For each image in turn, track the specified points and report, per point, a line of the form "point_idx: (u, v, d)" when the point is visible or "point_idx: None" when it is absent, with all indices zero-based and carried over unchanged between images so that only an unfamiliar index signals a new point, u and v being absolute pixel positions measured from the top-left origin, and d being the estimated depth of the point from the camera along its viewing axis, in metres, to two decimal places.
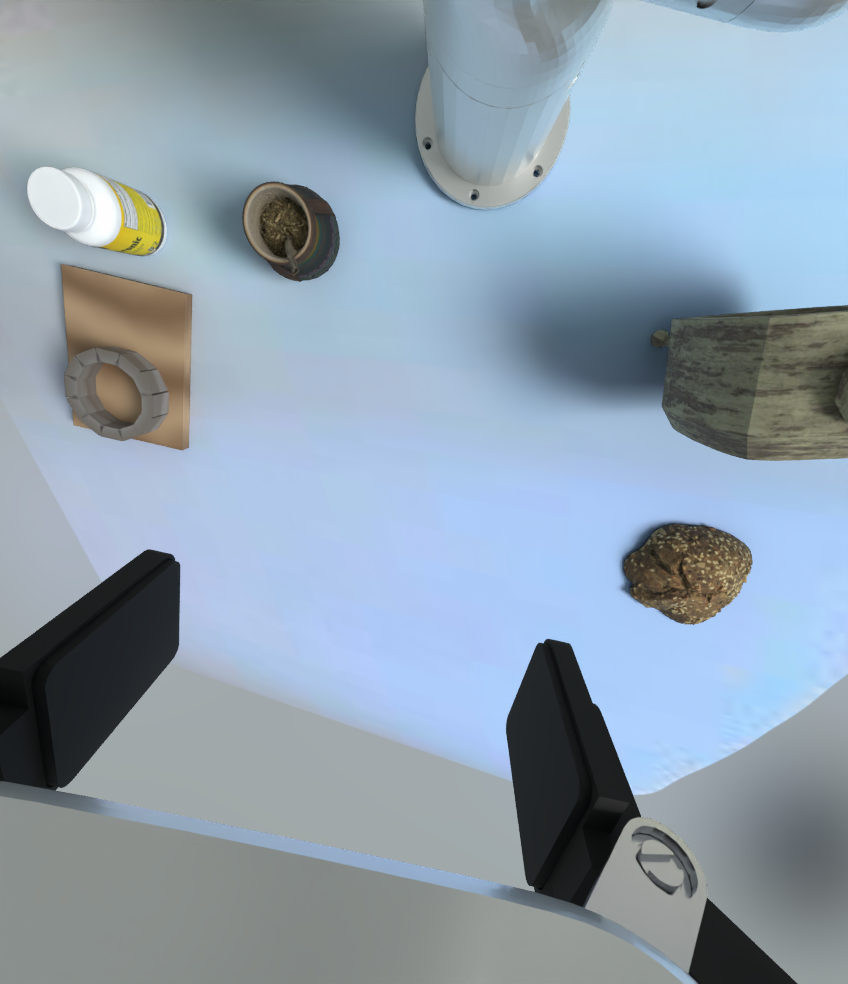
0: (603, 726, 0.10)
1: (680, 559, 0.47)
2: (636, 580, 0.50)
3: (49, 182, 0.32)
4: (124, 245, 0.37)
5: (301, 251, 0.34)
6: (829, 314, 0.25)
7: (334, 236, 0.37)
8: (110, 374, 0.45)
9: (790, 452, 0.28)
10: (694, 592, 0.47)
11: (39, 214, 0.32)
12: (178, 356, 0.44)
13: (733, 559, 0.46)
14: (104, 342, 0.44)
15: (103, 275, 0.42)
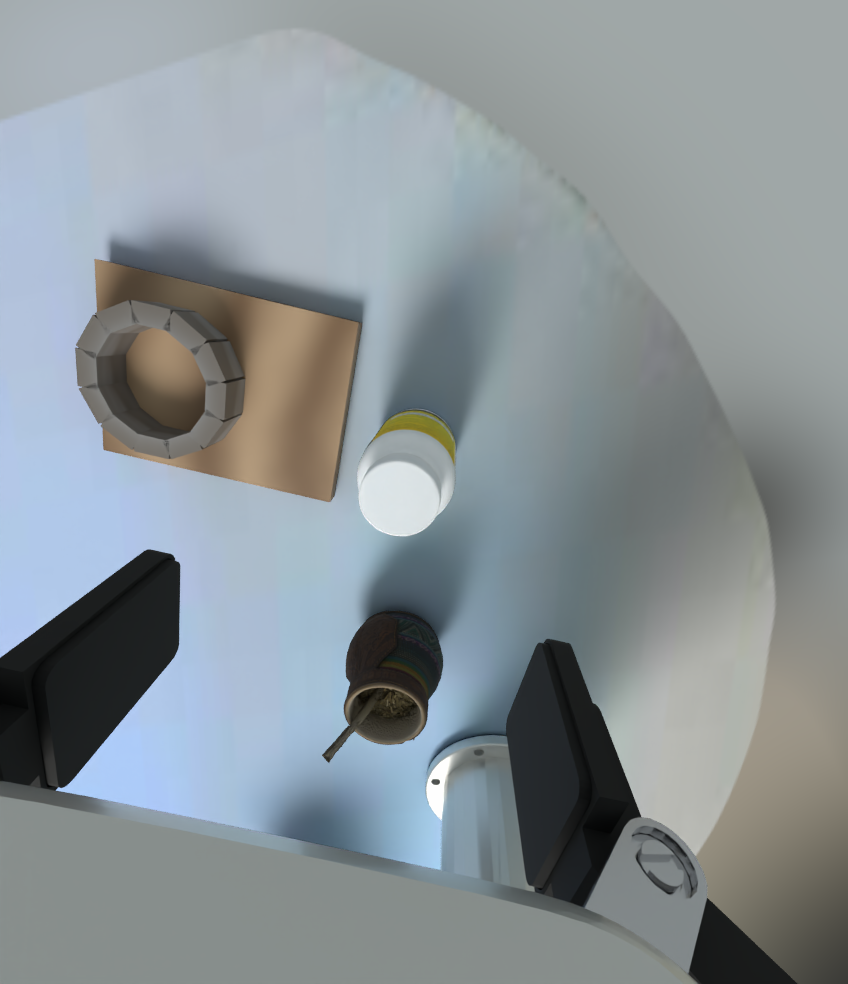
0: (604, 726, 0.10)
1: None
2: None
3: (419, 500, 0.21)
4: None
5: (358, 731, 0.29)
6: None
7: None
8: None
9: None
10: None
11: (377, 471, 0.20)
12: (245, 474, 0.30)
13: None
14: (248, 363, 0.27)
15: (346, 389, 0.28)
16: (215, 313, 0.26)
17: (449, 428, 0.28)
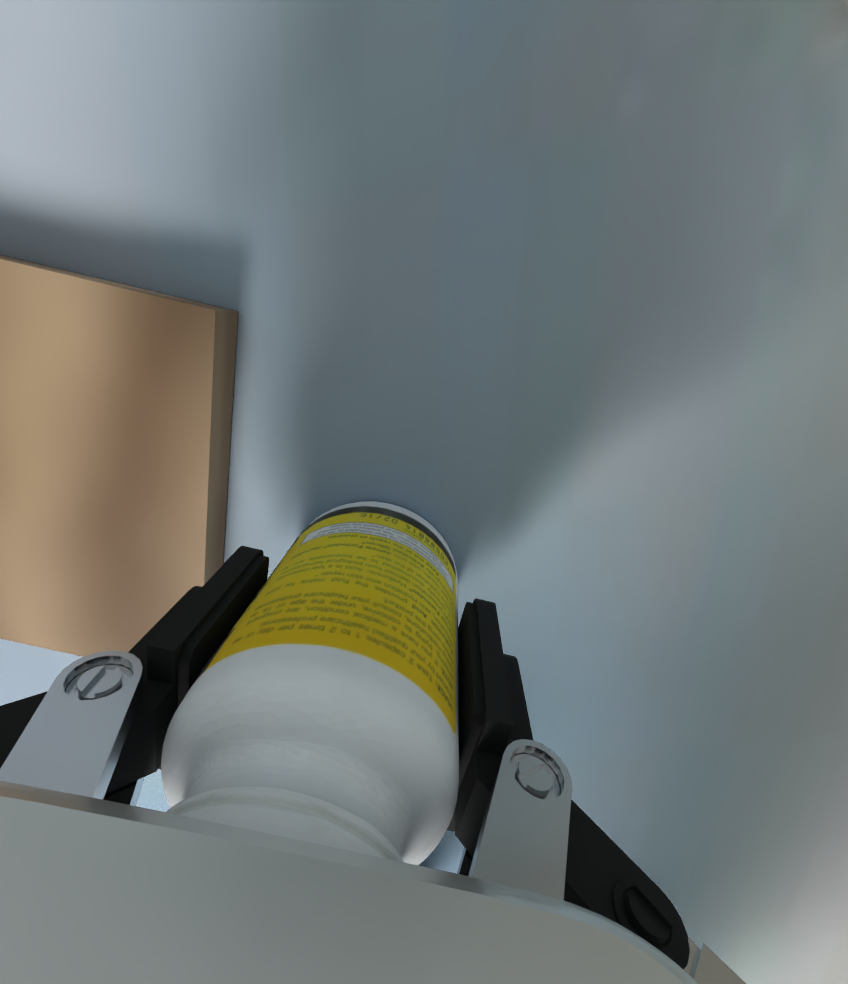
0: (518, 674, 0.10)
1: None
2: None
3: None
4: None
5: None
6: None
7: None
8: None
9: None
10: None
11: None
12: (21, 630, 0.14)
13: None
14: None
15: (205, 466, 0.12)
16: None
17: (443, 548, 0.13)
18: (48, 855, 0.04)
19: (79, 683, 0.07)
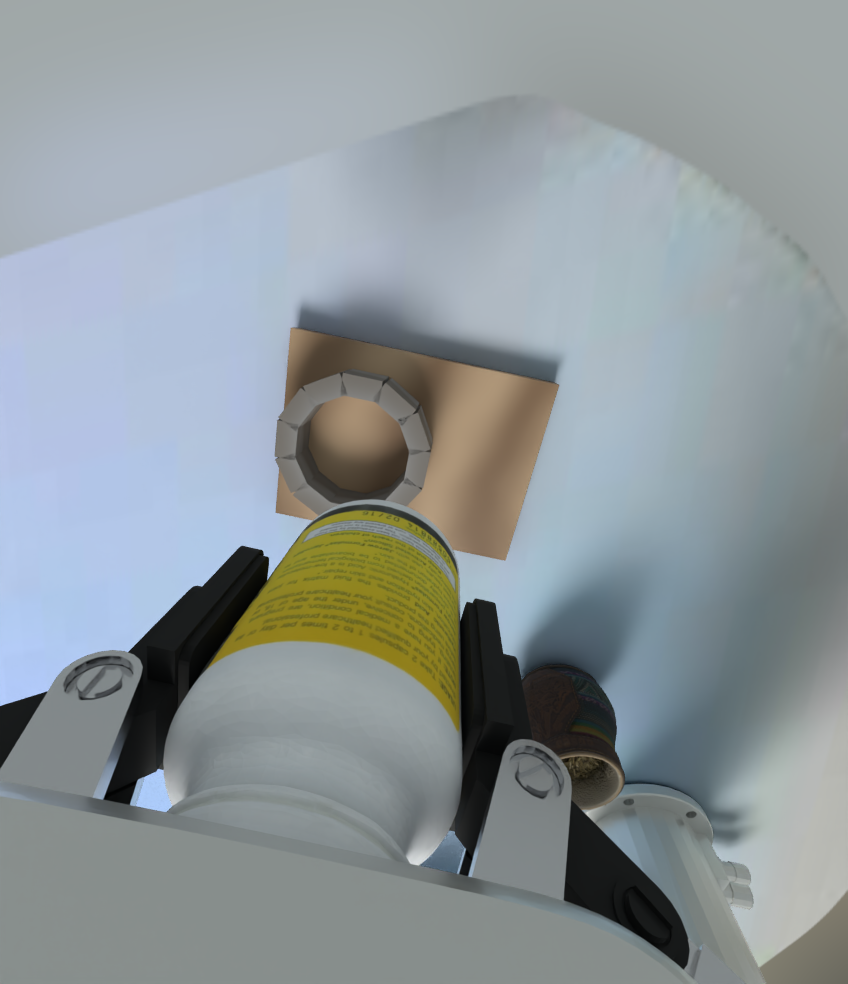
0: (519, 674, 0.10)
1: None
2: None
3: None
4: None
5: None
6: None
7: None
8: (387, 423, 0.27)
9: None
10: None
11: None
12: None
13: None
14: (438, 426, 0.27)
15: (537, 450, 0.27)
16: (410, 378, 0.26)
17: (445, 546, 0.13)
18: (48, 855, 0.04)
19: (79, 683, 0.07)
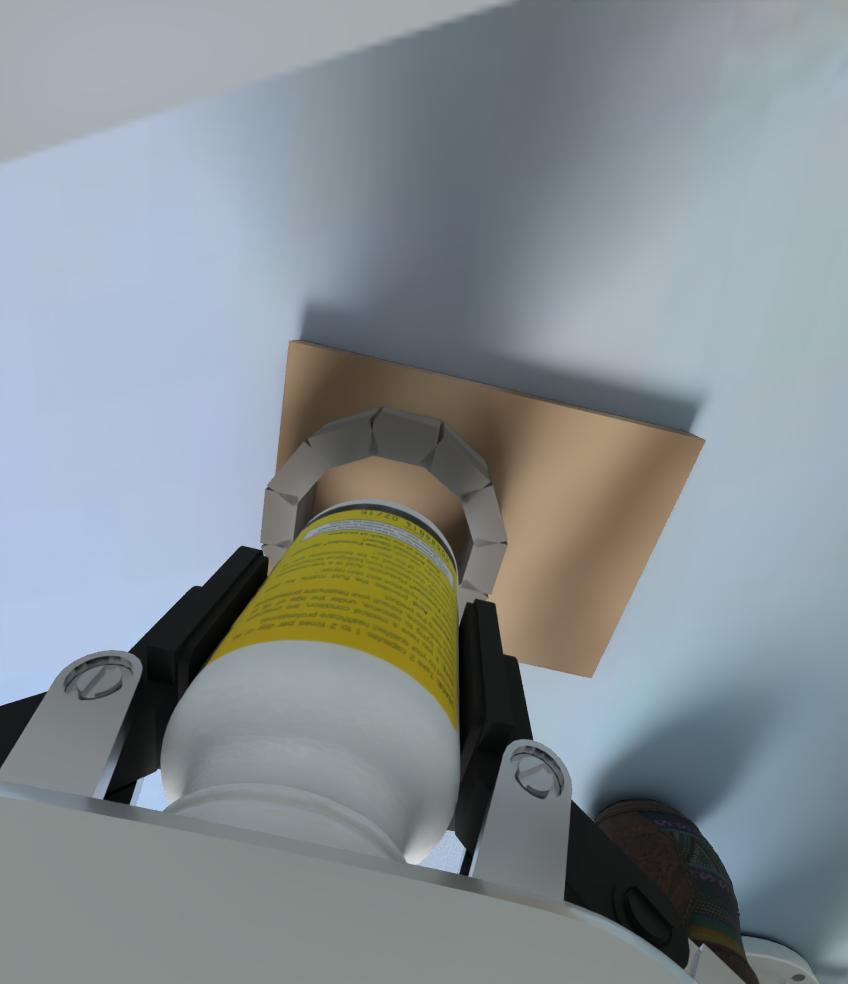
0: (519, 674, 0.10)
1: None
2: None
3: None
4: None
5: None
6: None
7: None
8: (434, 487, 0.18)
9: None
10: None
11: None
12: None
13: None
14: (511, 494, 0.18)
15: (658, 533, 0.18)
16: (473, 423, 0.17)
17: (444, 545, 0.13)
18: (48, 855, 0.04)
19: (79, 683, 0.07)
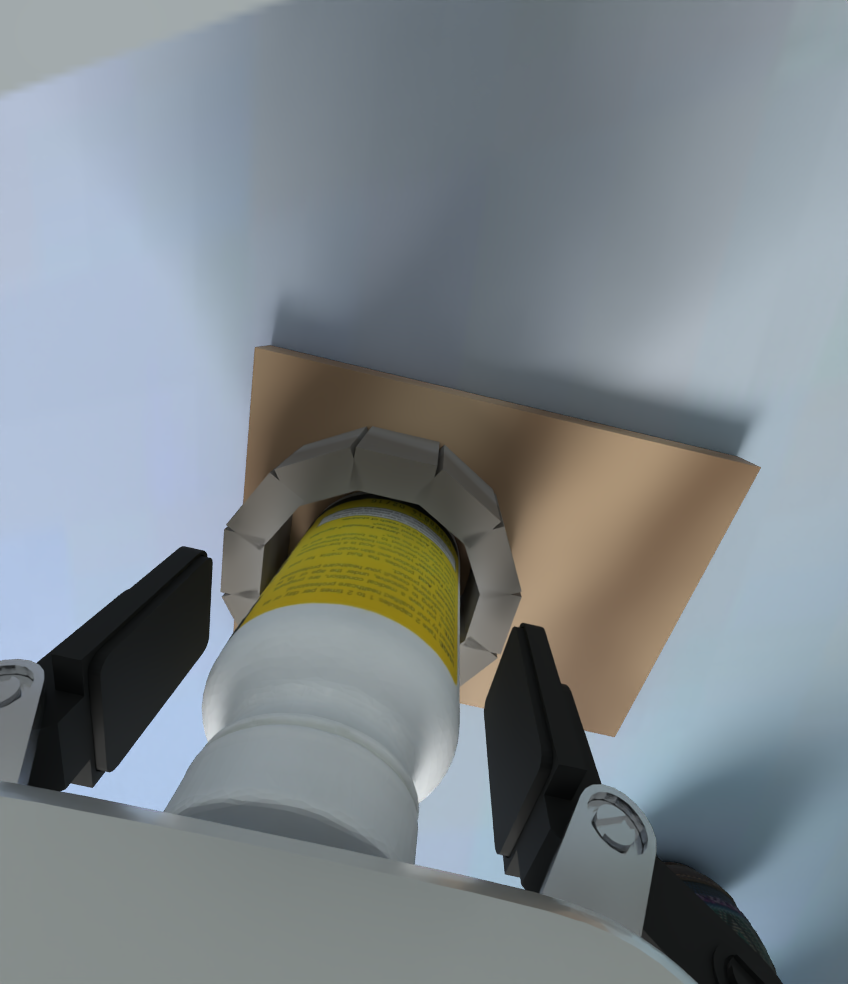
0: (573, 705, 0.10)
1: None
2: None
3: None
4: None
5: None
6: None
7: None
8: None
9: None
10: None
11: None
12: (475, 695, 0.18)
13: None
14: (524, 529, 0.15)
15: (698, 575, 0.15)
16: (478, 446, 0.14)
17: (446, 531, 0.14)
18: (48, 855, 0.04)
19: None
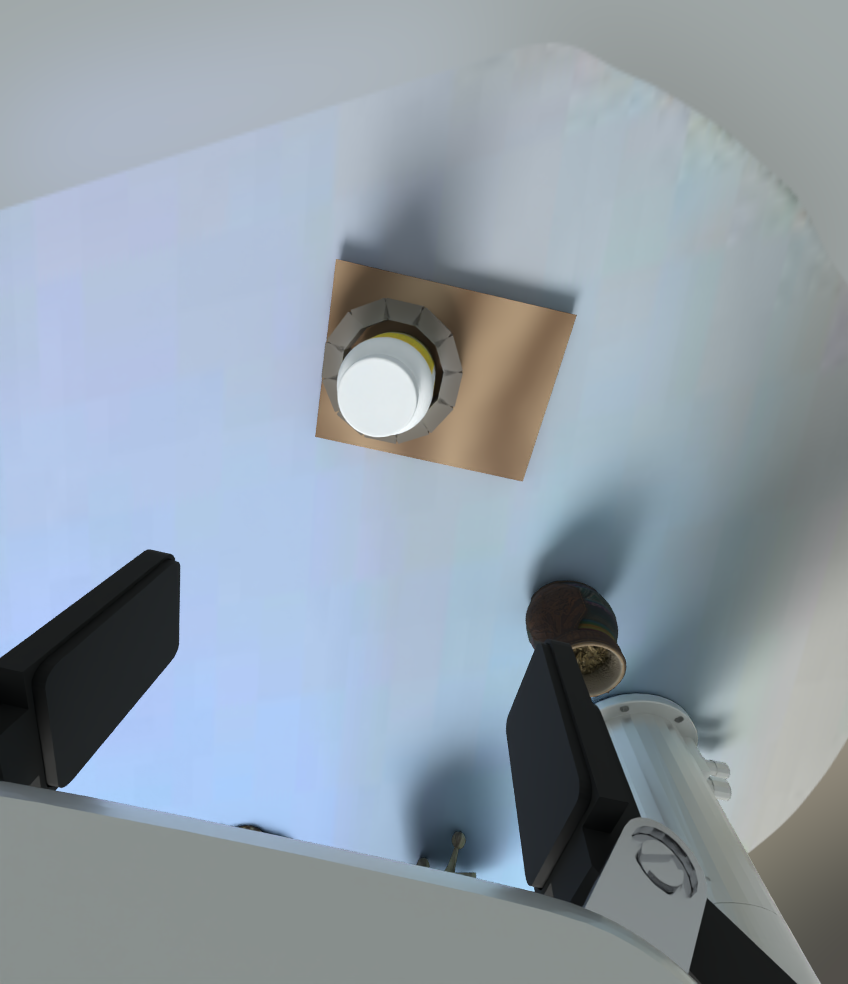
0: (604, 726, 0.10)
1: None
2: None
3: (396, 398, 0.21)
4: None
5: None
6: None
7: None
8: None
9: None
10: None
11: (354, 369, 0.21)
12: (447, 457, 0.33)
13: None
14: (467, 353, 0.30)
15: (554, 376, 0.30)
16: (443, 308, 0.29)
17: (428, 349, 0.29)
18: (48, 855, 0.04)
19: None
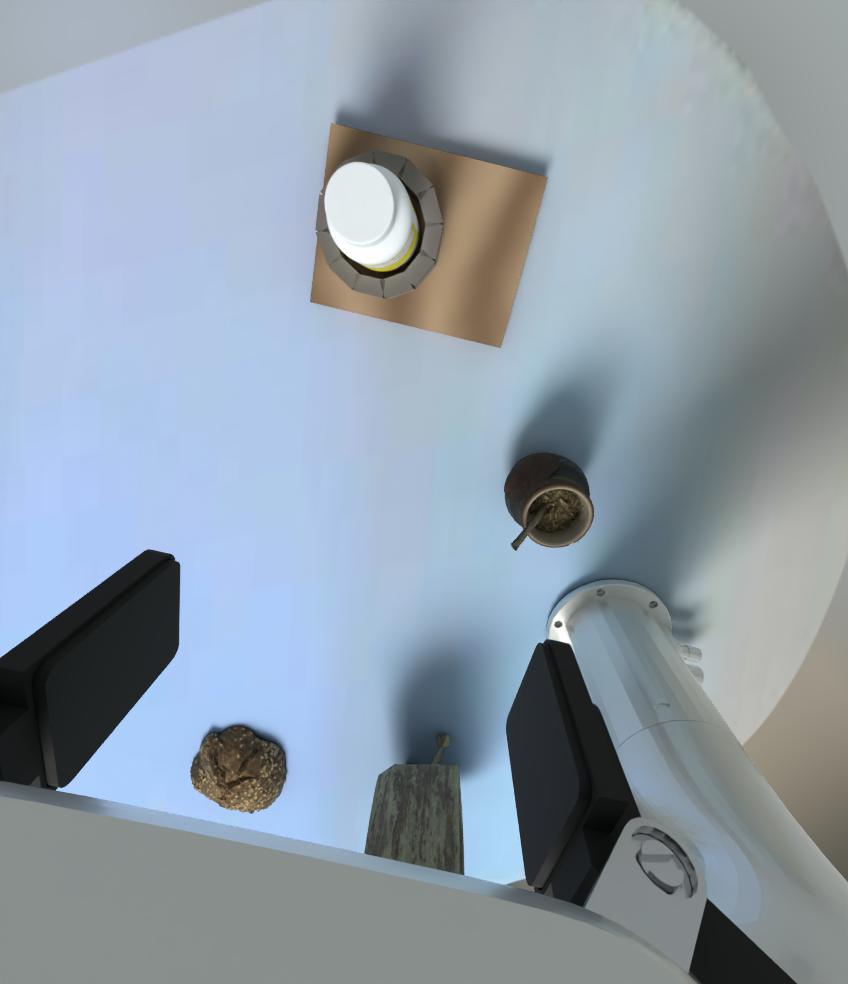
0: (604, 726, 0.10)
1: (252, 775, 0.53)
2: (225, 741, 0.54)
3: (376, 203, 0.24)
4: None
5: (531, 535, 0.35)
6: None
7: None
8: None
9: None
10: (224, 790, 0.54)
11: (338, 174, 0.24)
12: (430, 323, 0.35)
13: (260, 805, 0.56)
14: (448, 216, 0.33)
15: (528, 240, 0.33)
16: (426, 171, 0.32)
17: None
18: (48, 855, 0.04)
19: None
